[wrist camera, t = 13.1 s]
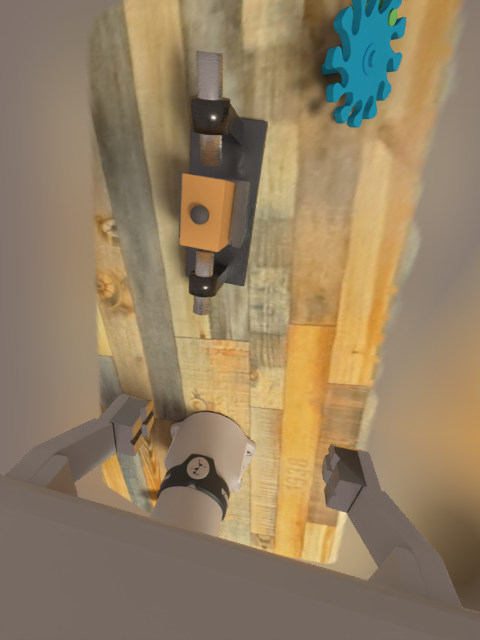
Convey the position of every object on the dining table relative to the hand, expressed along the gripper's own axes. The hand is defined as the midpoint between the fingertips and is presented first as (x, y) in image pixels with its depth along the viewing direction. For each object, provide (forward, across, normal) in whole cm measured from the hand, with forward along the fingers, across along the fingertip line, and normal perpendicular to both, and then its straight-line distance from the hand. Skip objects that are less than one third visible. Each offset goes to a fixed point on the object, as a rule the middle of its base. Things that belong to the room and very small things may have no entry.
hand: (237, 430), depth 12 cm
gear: (+29, -5, -22) cm, 37 cm away
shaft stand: (+29, +8, -7) cm, 31 cm away
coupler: (+25, +8, -7) cm, 27 cm away
